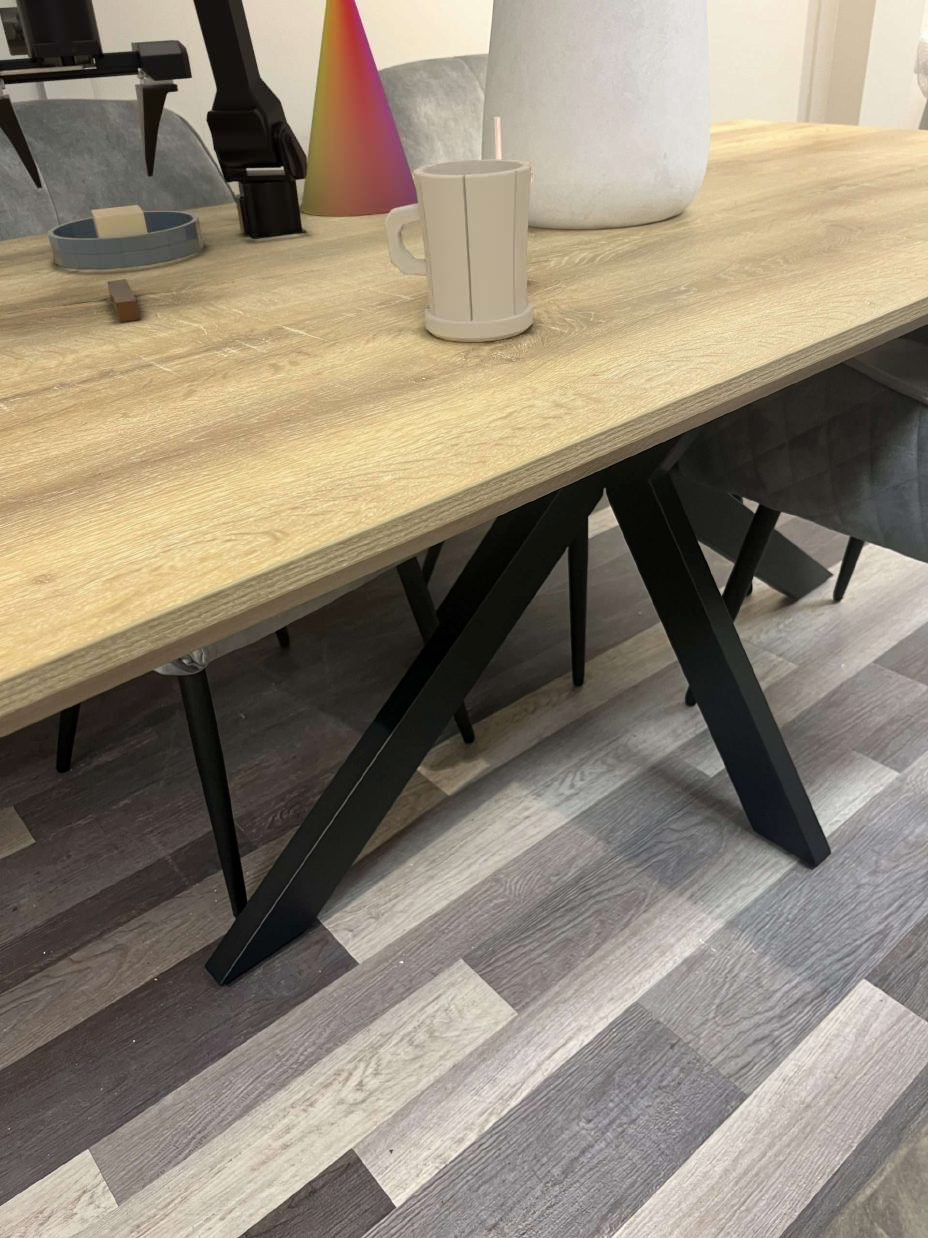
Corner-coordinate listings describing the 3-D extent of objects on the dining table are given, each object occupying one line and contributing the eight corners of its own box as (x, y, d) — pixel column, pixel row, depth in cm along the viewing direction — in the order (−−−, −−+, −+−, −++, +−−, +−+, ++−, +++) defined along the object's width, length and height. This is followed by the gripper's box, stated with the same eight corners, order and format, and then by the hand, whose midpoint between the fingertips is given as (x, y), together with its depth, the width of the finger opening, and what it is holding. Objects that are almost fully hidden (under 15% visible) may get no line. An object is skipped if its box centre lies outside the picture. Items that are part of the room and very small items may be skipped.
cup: (436, 354, 75) (424, 182, 68) (387, 327, 82) (373, 169, 75) (554, 330, 79) (553, 165, 72) (498, 306, 86) (493, 154, 79)
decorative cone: (276, 209, 134) (238, -59, 118) (361, 190, 144) (337, -59, 128) (359, 219, 125) (330, -71, 109) (444, 198, 135) (428, -70, 119)
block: (148, 251, 111) (138, 204, 109) (153, 260, 108) (143, 210, 105) (102, 257, 110) (90, 209, 107) (105, 266, 106) (94, 216, 103)
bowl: (192, 236, 121) (186, 205, 119) (214, 260, 108) (208, 226, 106) (53, 253, 116) (45, 221, 114) (59, 280, 103) (50, 245, 102)
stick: (140, 319, 88) (136, 299, 87) (119, 322, 88) (115, 302, 87) (130, 297, 95) (126, 278, 94) (111, 300, 95) (106, 281, 94)
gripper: (155, -35, 86) (190, 160, 95) (-77, -25, 81) (-18, 182, 89) (172, -42, 78) (209, 174, 86) (-87, -32, 72) (-21, 198, 80)
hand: (95, 181), depth 86 cm, fingers open, 9 cm apart
